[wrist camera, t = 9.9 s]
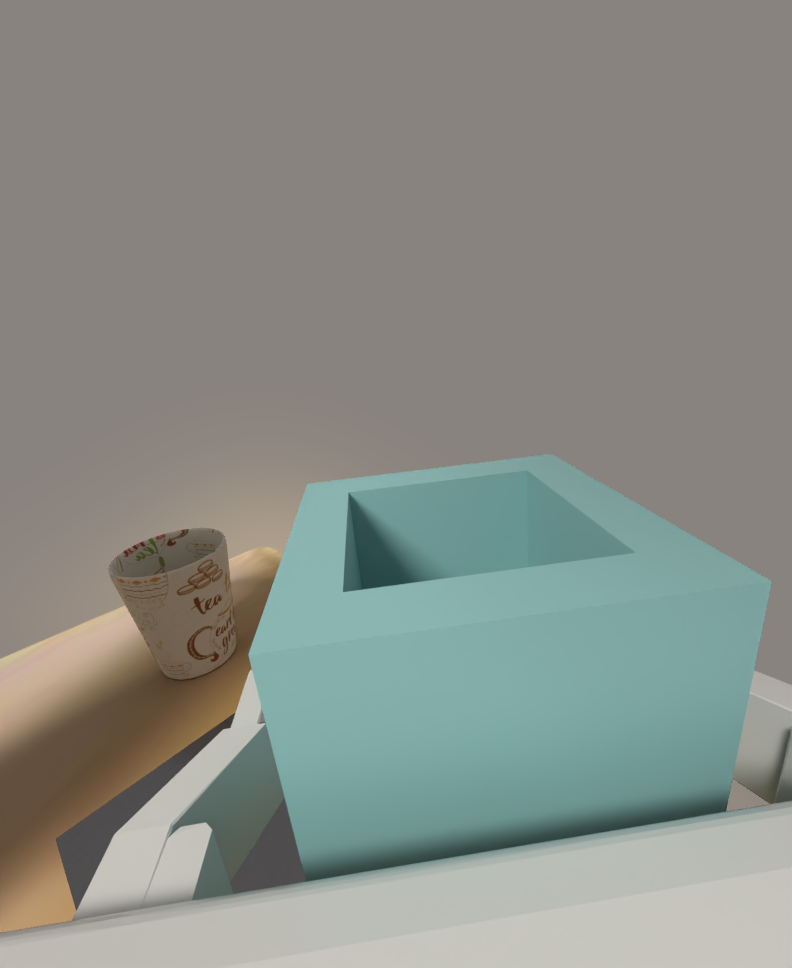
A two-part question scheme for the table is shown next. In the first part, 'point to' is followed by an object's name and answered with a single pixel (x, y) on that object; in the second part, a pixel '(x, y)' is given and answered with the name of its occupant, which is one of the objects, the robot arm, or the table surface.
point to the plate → (91, 837)
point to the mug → (180, 599)
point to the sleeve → (497, 664)
